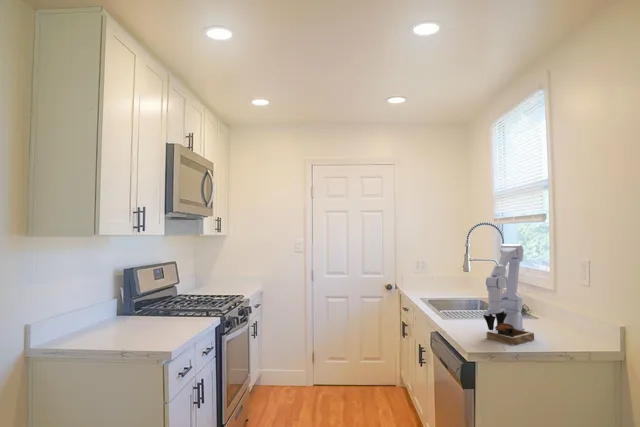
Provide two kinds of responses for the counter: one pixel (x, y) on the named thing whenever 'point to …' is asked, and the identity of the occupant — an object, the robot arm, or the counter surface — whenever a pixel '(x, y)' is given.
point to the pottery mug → (506, 329)
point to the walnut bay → (518, 338)
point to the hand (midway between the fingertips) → (495, 328)
